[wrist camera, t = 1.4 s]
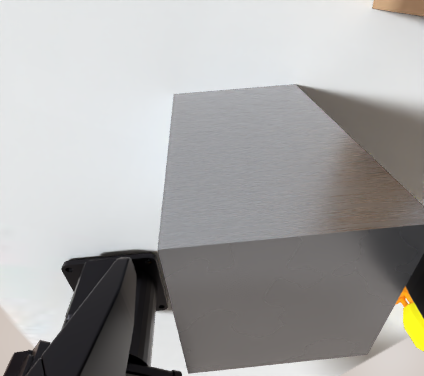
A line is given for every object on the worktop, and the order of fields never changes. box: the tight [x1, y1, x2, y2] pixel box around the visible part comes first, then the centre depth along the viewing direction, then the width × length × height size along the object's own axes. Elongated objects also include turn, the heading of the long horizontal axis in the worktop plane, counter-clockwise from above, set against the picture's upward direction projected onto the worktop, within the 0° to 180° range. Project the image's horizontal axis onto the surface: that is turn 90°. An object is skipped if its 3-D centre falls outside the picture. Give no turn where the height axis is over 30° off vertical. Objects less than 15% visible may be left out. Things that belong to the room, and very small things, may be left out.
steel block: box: [158, 84, 424, 374], centre depth 12 cm, size 6×6×10 cm
